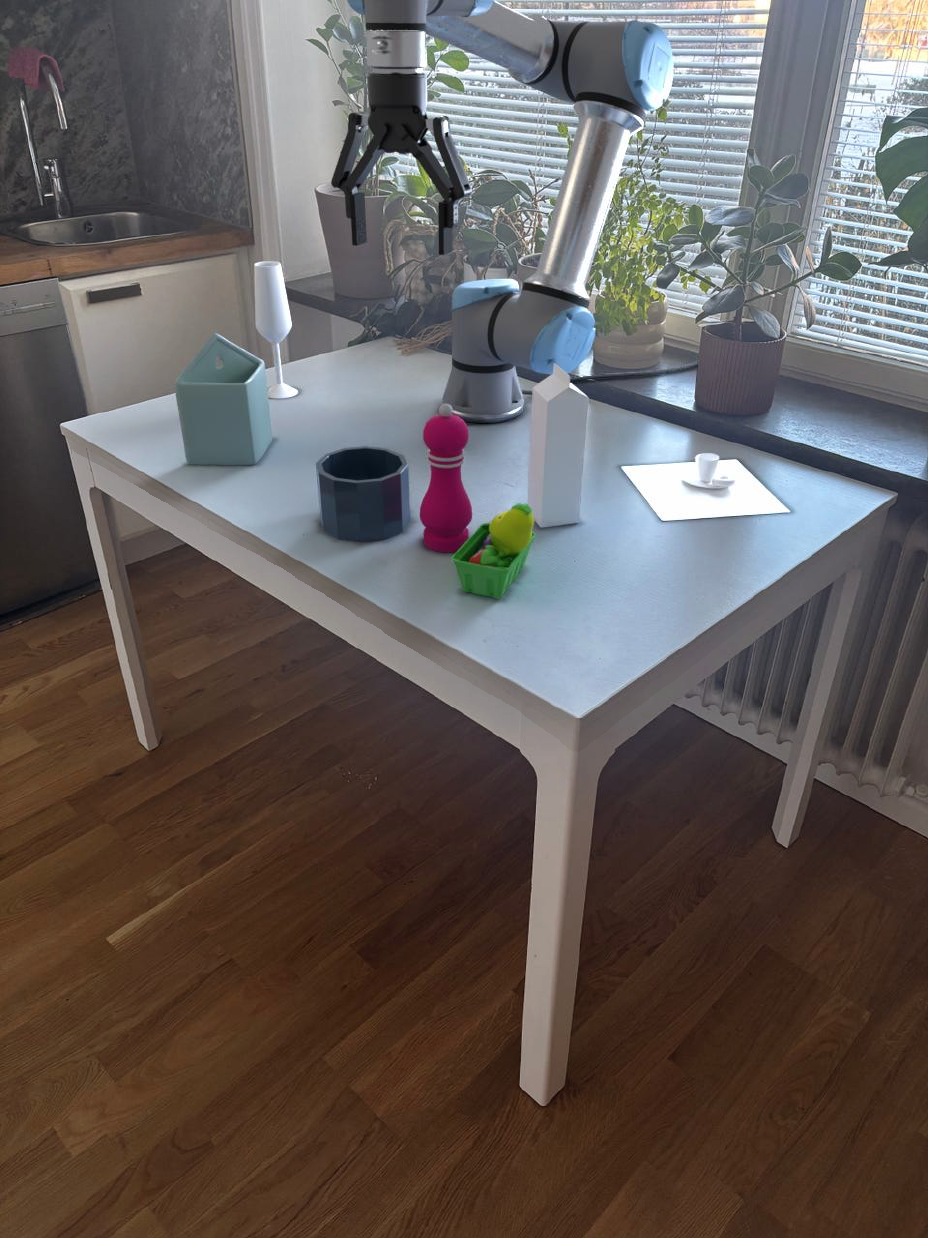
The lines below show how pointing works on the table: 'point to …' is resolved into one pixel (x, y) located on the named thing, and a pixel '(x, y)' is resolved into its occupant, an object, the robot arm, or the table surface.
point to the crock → (363, 493)
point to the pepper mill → (445, 483)
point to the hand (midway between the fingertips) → (401, 248)
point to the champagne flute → (272, 317)
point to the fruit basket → (496, 552)
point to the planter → (224, 406)
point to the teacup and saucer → (702, 489)
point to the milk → (556, 450)
